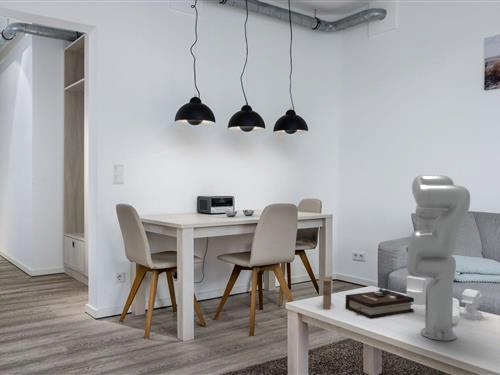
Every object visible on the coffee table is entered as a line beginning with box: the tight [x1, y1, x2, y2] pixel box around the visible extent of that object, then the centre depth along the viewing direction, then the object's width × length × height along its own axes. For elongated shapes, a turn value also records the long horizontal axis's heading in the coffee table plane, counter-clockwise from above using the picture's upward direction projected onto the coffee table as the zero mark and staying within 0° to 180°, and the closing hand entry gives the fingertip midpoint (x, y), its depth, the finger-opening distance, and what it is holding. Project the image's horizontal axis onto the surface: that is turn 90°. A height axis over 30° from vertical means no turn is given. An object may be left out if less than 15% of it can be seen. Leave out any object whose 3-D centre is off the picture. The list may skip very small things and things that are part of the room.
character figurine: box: [459, 288, 484, 321], centre depth 193 cm, size 9×10×12 cm
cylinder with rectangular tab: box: [406, 275, 427, 306], centre depth 218 cm, size 9×9×12 cm
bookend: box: [322, 275, 333, 310], centre depth 208 cm, size 11×3×13 cm, turn 166°
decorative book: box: [345, 288, 415, 320], centre depth 202 cm, size 19×8×30 cm
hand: (425, 267), depth 198 cm, fingers open, 9 cm apart
